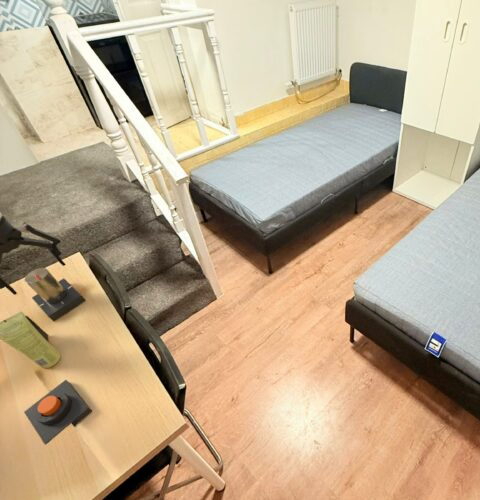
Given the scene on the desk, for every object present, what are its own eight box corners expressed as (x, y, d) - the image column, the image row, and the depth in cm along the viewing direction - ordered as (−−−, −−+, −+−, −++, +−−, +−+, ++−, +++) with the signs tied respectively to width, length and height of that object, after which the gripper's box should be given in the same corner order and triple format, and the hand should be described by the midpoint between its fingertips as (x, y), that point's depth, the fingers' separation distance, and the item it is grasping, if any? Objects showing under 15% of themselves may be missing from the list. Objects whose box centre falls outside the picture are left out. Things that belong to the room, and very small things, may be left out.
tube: (49, 349, 96) (2, 309, 82) (66, 350, 95) (21, 310, 82) (36, 368, 92) (-16, 329, 78) (53, 369, 91) (3, 330, 78)
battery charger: (34, 339, 98) (8, 317, 90) (49, 334, 99) (24, 312, 91) (32, 359, 94) (4, 338, 86) (47, 353, 95) (21, 331, 87)
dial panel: (37, 303, 108) (30, 297, 106) (69, 283, 114) (63, 277, 111) (53, 322, 102) (47, 316, 100) (86, 300, 108) (81, 294, 106)
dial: (42, 297, 106) (20, 276, 98) (61, 285, 109) (42, 264, 102) (50, 306, 103) (28, 285, 96) (70, 294, 106) (50, 272, 99)
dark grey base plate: (29, 414, 83) (18, 408, 80) (70, 382, 88) (61, 376, 86) (50, 447, 78) (39, 441, 75) (92, 410, 83) (83, 404, 80)
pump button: (39, 409, 80) (34, 405, 79) (57, 395, 83) (52, 392, 81) (47, 419, 79) (41, 416, 77) (64, 405, 81) (59, 402, 79)
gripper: (-71, 258, 76) (-4, 311, 91) (44, 203, 90) (86, 257, 105) (-80, 245, 80) (-14, 298, 95) (32, 194, 93) (75, 248, 108)
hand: (39, 277), depth 100 cm, fingers open, 13 cm apart
